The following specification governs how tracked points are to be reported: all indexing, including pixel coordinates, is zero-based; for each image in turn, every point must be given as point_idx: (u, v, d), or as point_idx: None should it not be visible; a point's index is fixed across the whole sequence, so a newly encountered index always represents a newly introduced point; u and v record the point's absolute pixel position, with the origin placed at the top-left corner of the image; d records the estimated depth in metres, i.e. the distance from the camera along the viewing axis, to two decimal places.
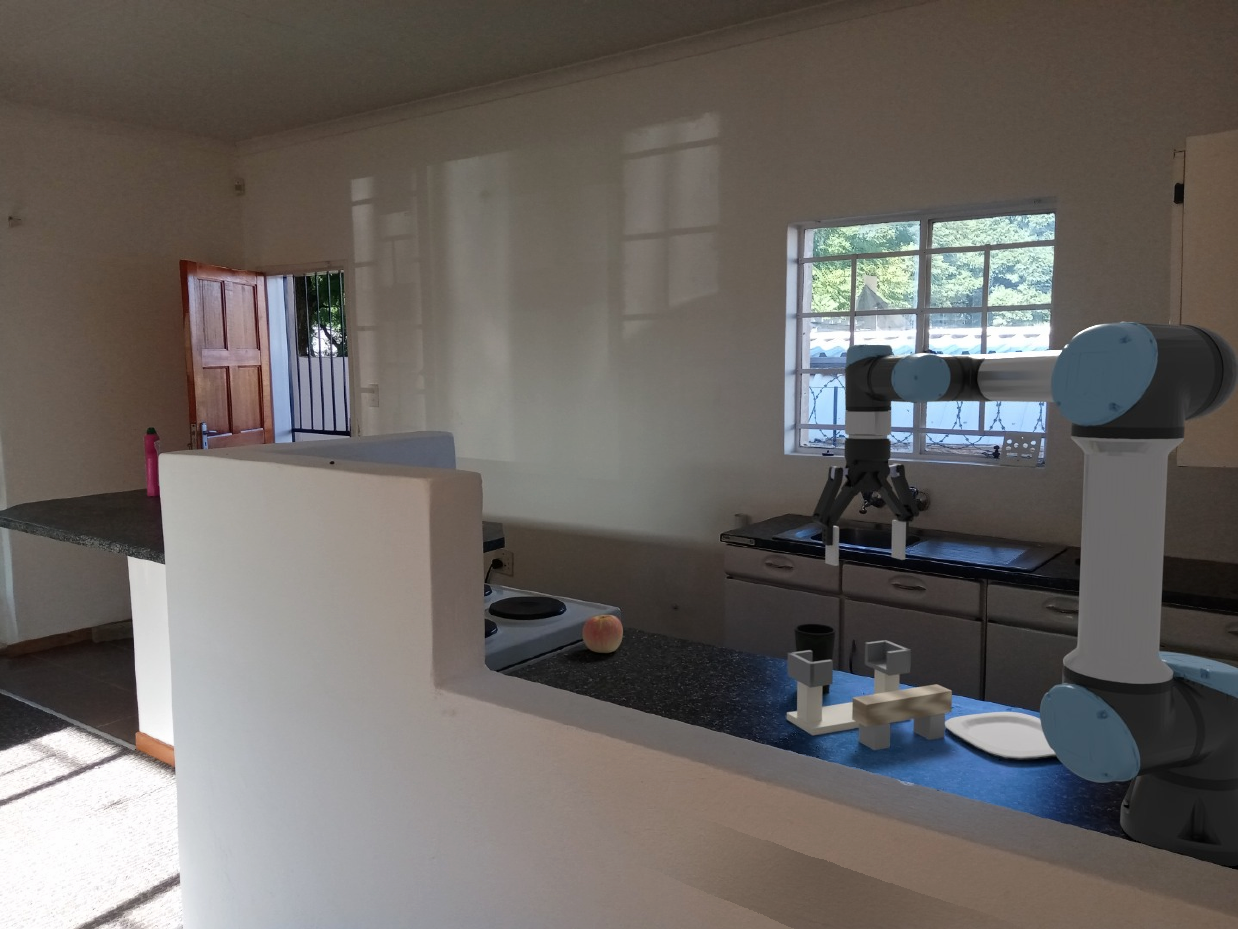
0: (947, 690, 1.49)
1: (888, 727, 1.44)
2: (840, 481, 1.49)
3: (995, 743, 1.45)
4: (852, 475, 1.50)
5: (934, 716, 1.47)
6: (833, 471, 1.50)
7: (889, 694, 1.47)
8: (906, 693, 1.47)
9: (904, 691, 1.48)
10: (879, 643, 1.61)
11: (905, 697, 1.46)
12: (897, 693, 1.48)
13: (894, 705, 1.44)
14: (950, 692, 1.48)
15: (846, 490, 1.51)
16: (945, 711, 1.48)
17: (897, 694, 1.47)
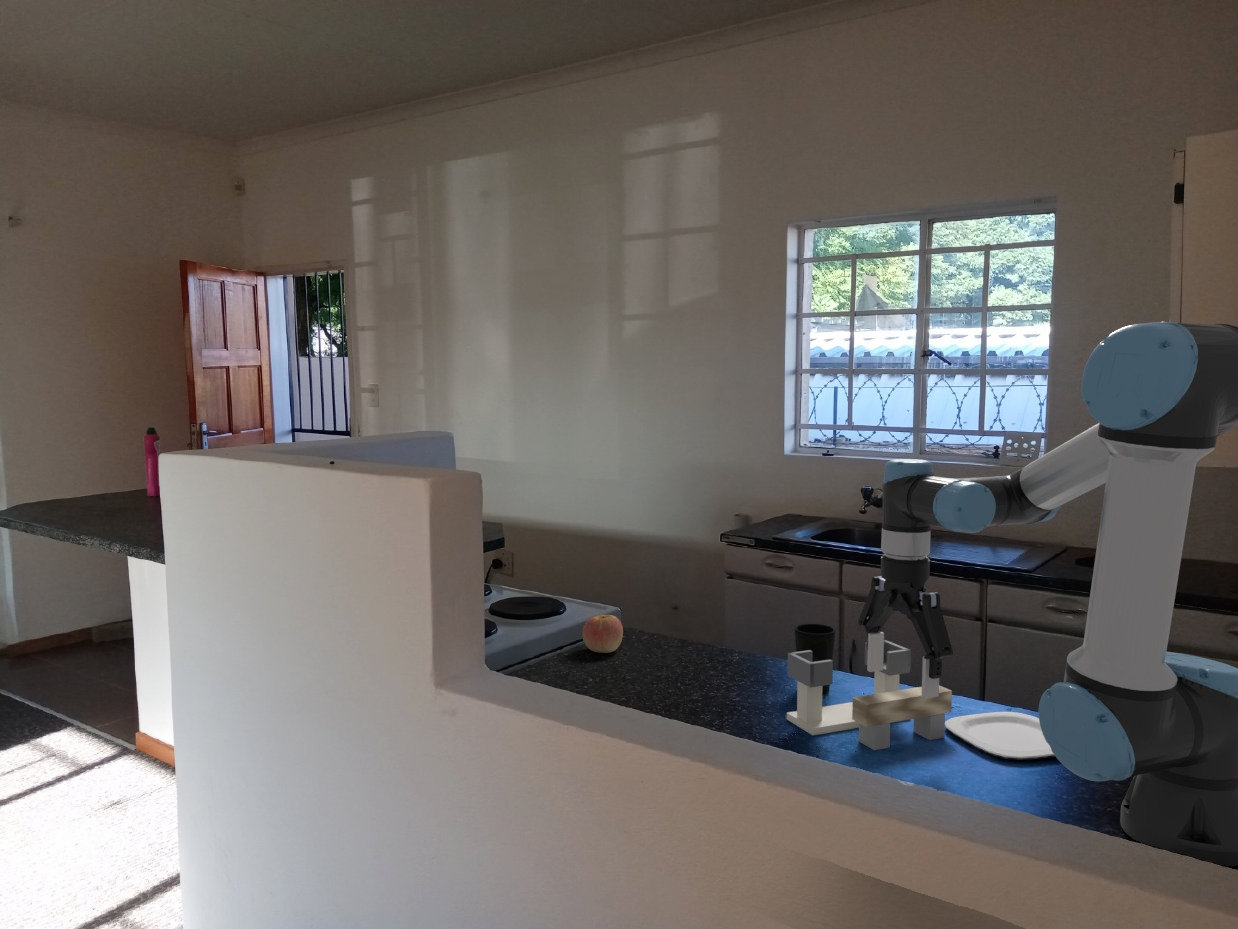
0: (947, 690, 1.49)
1: (888, 727, 1.44)
2: (873, 590, 1.51)
3: (995, 743, 1.45)
4: (884, 589, 1.49)
5: (934, 716, 1.47)
6: None
7: (889, 694, 1.47)
8: (906, 693, 1.47)
9: (904, 691, 1.48)
10: None
11: (905, 697, 1.46)
12: (897, 693, 1.48)
13: (894, 705, 1.44)
14: (950, 692, 1.48)
15: None
16: (945, 711, 1.48)
17: (897, 694, 1.47)
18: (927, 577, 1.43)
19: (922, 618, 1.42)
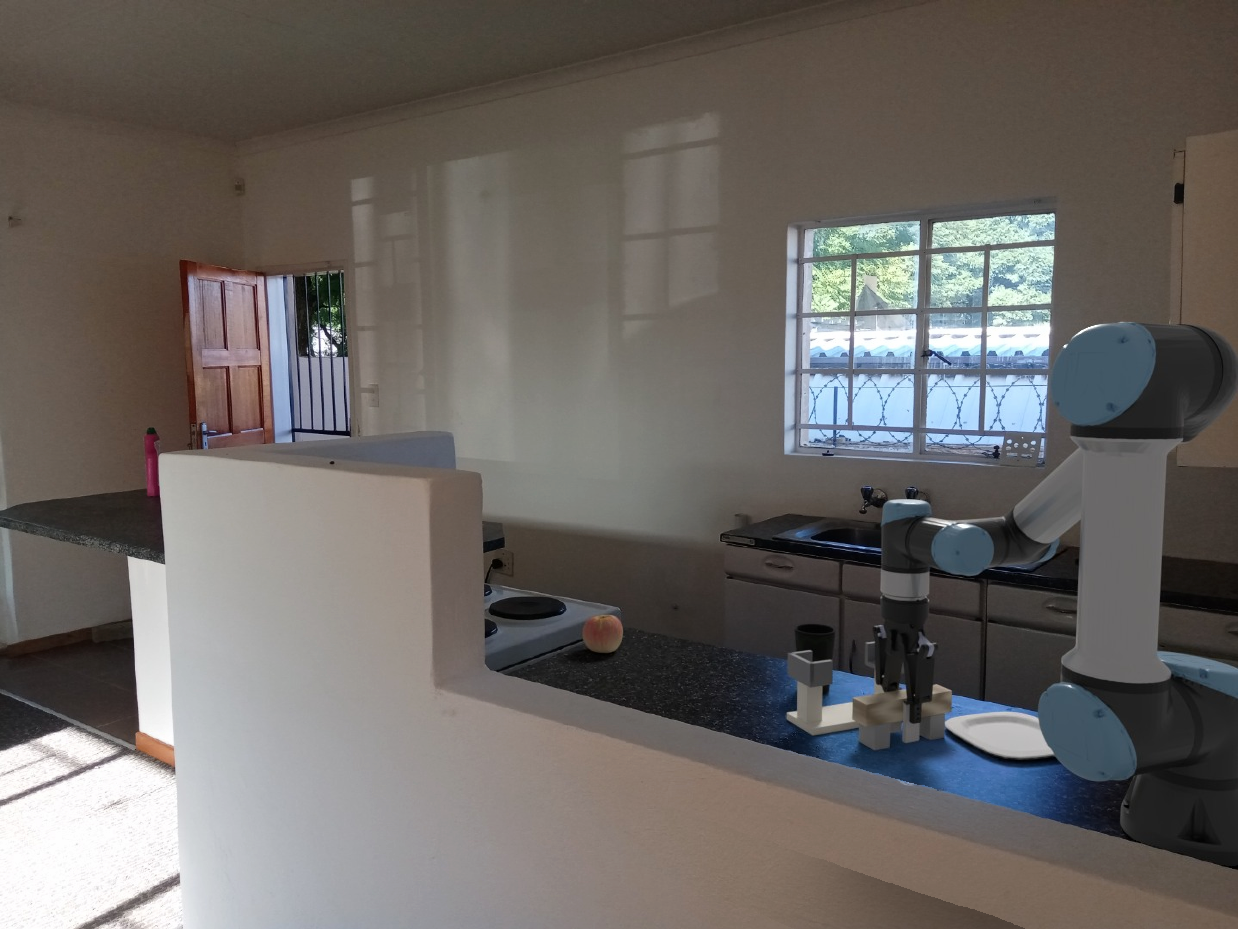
0: (947, 690, 1.49)
1: (888, 727, 1.44)
2: (877, 639, 1.51)
3: (995, 743, 1.45)
4: (885, 630, 1.49)
5: (934, 716, 1.47)
6: None
7: (889, 694, 1.47)
8: None
9: (904, 691, 1.48)
10: None
11: (905, 697, 1.46)
12: (897, 693, 1.48)
13: (895, 705, 1.44)
14: (950, 692, 1.48)
15: None
16: (945, 711, 1.48)
17: (897, 694, 1.47)
18: (926, 617, 1.44)
19: (914, 662, 1.44)
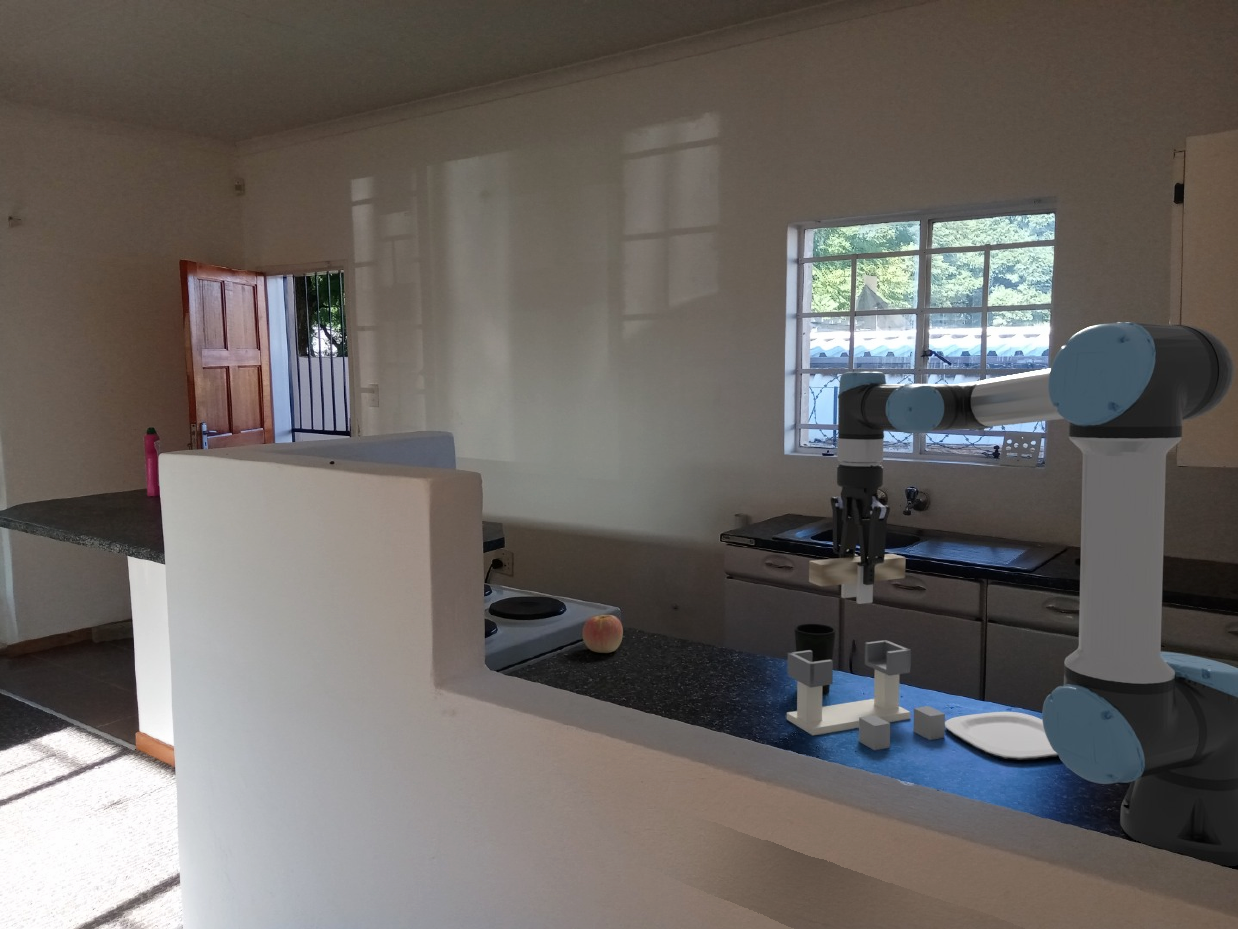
0: (901, 557, 1.55)
1: (888, 727, 1.44)
2: (835, 509, 1.57)
3: (995, 743, 1.45)
4: (842, 499, 1.55)
5: (934, 716, 1.47)
6: None
7: (845, 559, 1.53)
8: None
9: None
10: (879, 643, 1.61)
11: (860, 561, 1.52)
12: (853, 558, 1.54)
13: (849, 568, 1.51)
14: (904, 558, 1.55)
15: None
16: (899, 576, 1.55)
17: (853, 559, 1.54)
18: (880, 483, 1.50)
19: (868, 526, 1.51)
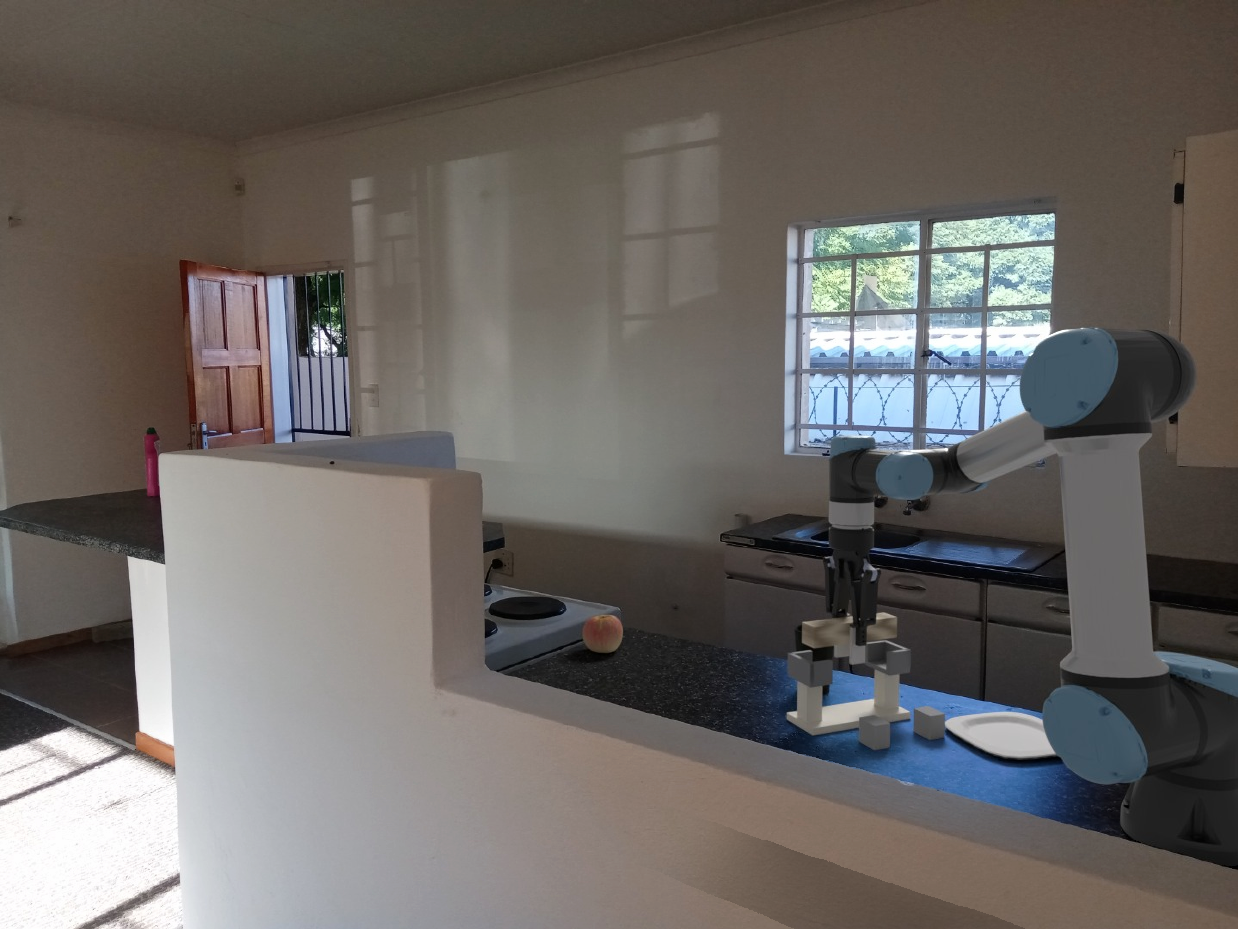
0: (893, 616, 1.57)
1: (888, 727, 1.44)
2: (827, 569, 1.59)
3: (995, 743, 1.45)
4: (834, 560, 1.57)
5: (934, 716, 1.47)
6: None
7: (837, 619, 1.55)
8: None
9: (852, 617, 1.57)
10: (879, 643, 1.61)
11: (852, 621, 1.54)
12: (845, 618, 1.56)
13: (841, 629, 1.53)
14: (895, 618, 1.57)
15: None
16: (890, 636, 1.57)
17: (845, 619, 1.55)
18: (871, 545, 1.52)
19: (860, 588, 1.53)
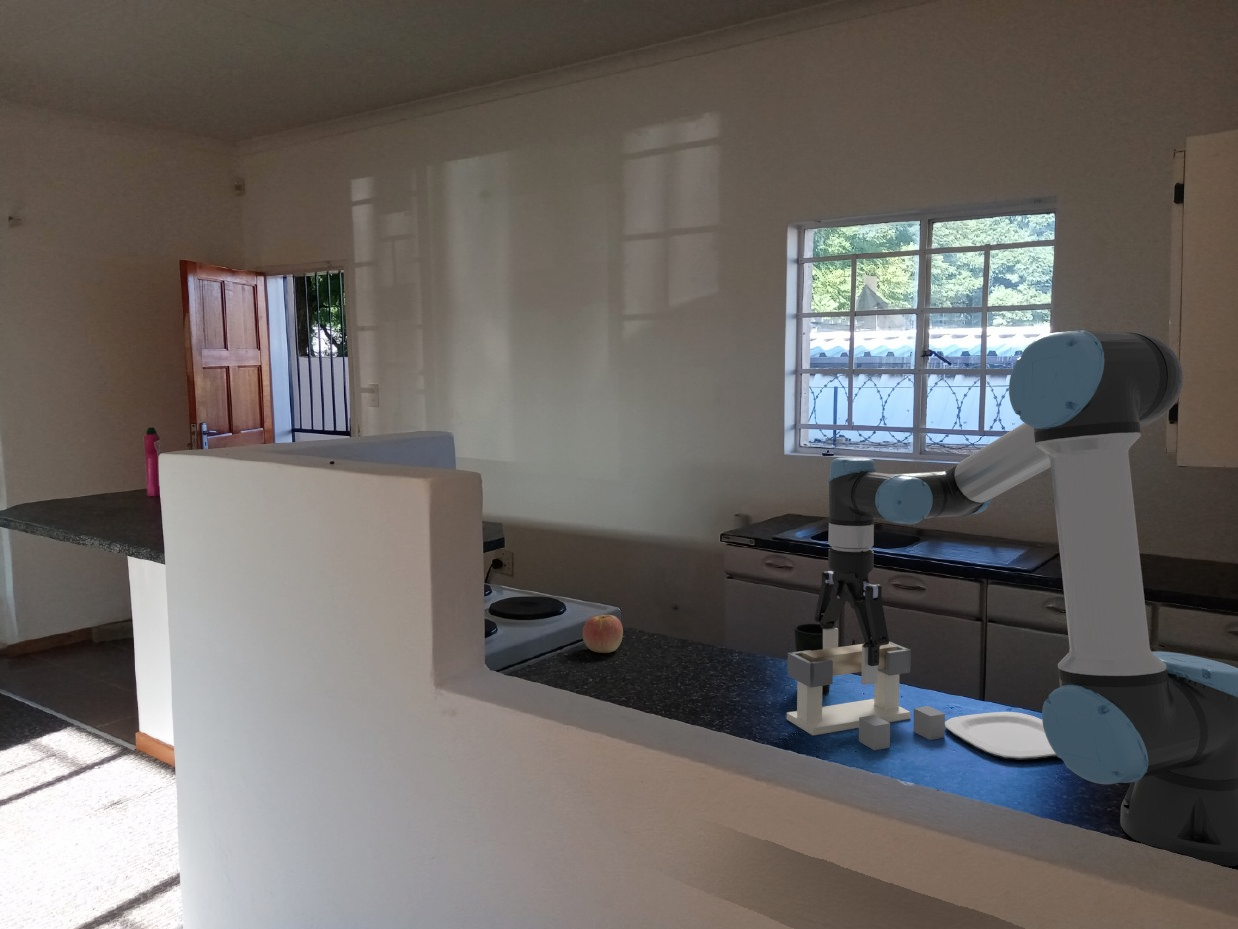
0: (892, 646, 1.58)
1: (888, 727, 1.44)
2: (824, 584, 1.60)
3: (995, 743, 1.45)
4: (833, 580, 1.58)
5: (934, 716, 1.47)
6: None
7: (837, 649, 1.56)
8: (852, 649, 1.56)
9: (852, 647, 1.57)
10: None
11: (851, 651, 1.54)
12: (845, 648, 1.57)
13: (841, 659, 1.53)
14: (895, 648, 1.57)
15: None
16: None
17: (845, 649, 1.56)
18: (871, 568, 1.52)
19: (864, 608, 1.52)
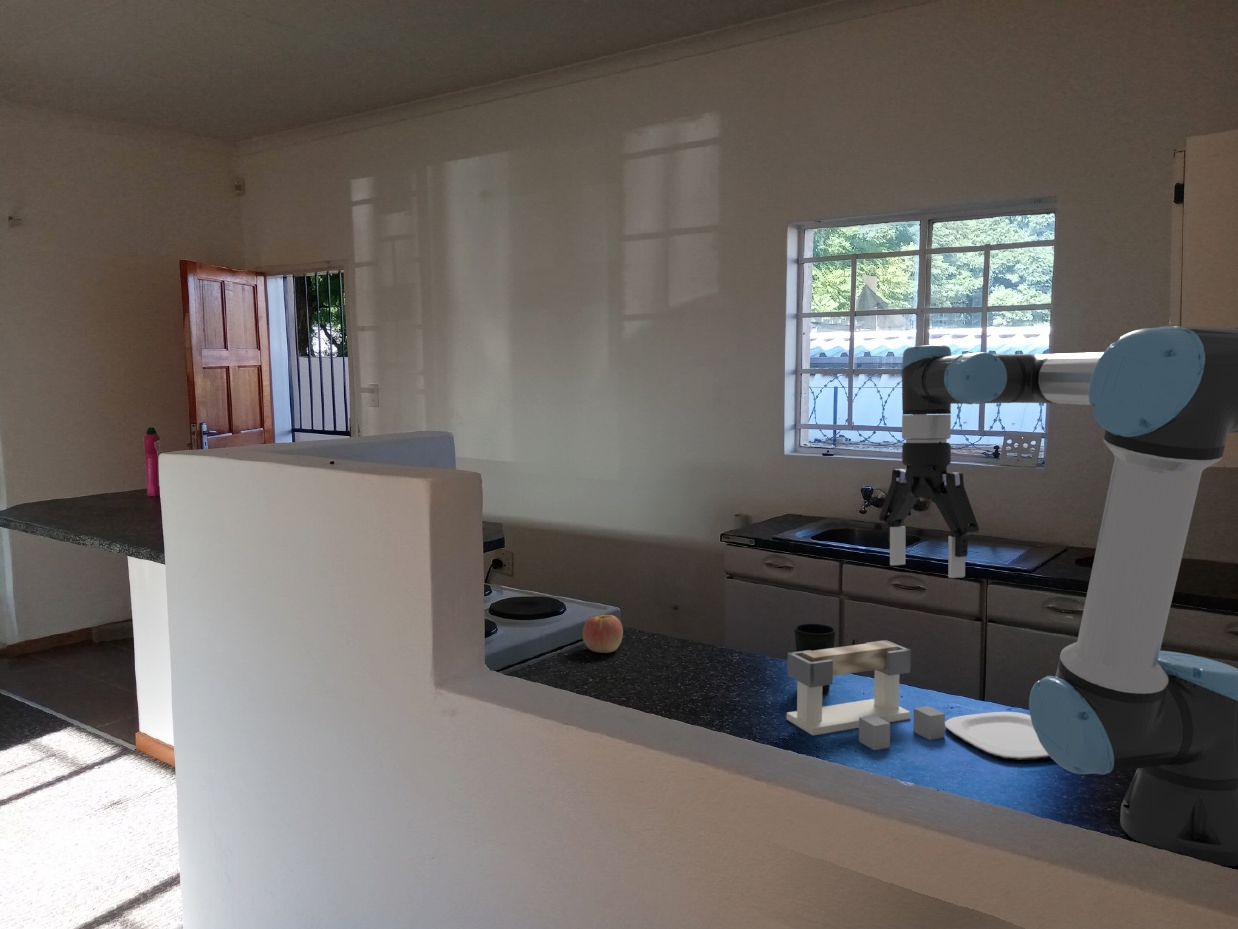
0: (892, 646, 1.58)
1: (888, 727, 1.44)
2: (894, 482, 1.52)
3: (995, 743, 1.45)
4: (905, 478, 1.50)
5: (934, 716, 1.47)
6: None
7: (837, 649, 1.56)
8: (852, 649, 1.56)
9: (852, 647, 1.57)
10: None
11: (851, 651, 1.54)
12: (845, 648, 1.57)
13: (841, 659, 1.53)
14: (895, 648, 1.57)
15: None
16: None
17: (845, 649, 1.56)
18: (949, 460, 1.45)
19: (946, 499, 1.43)
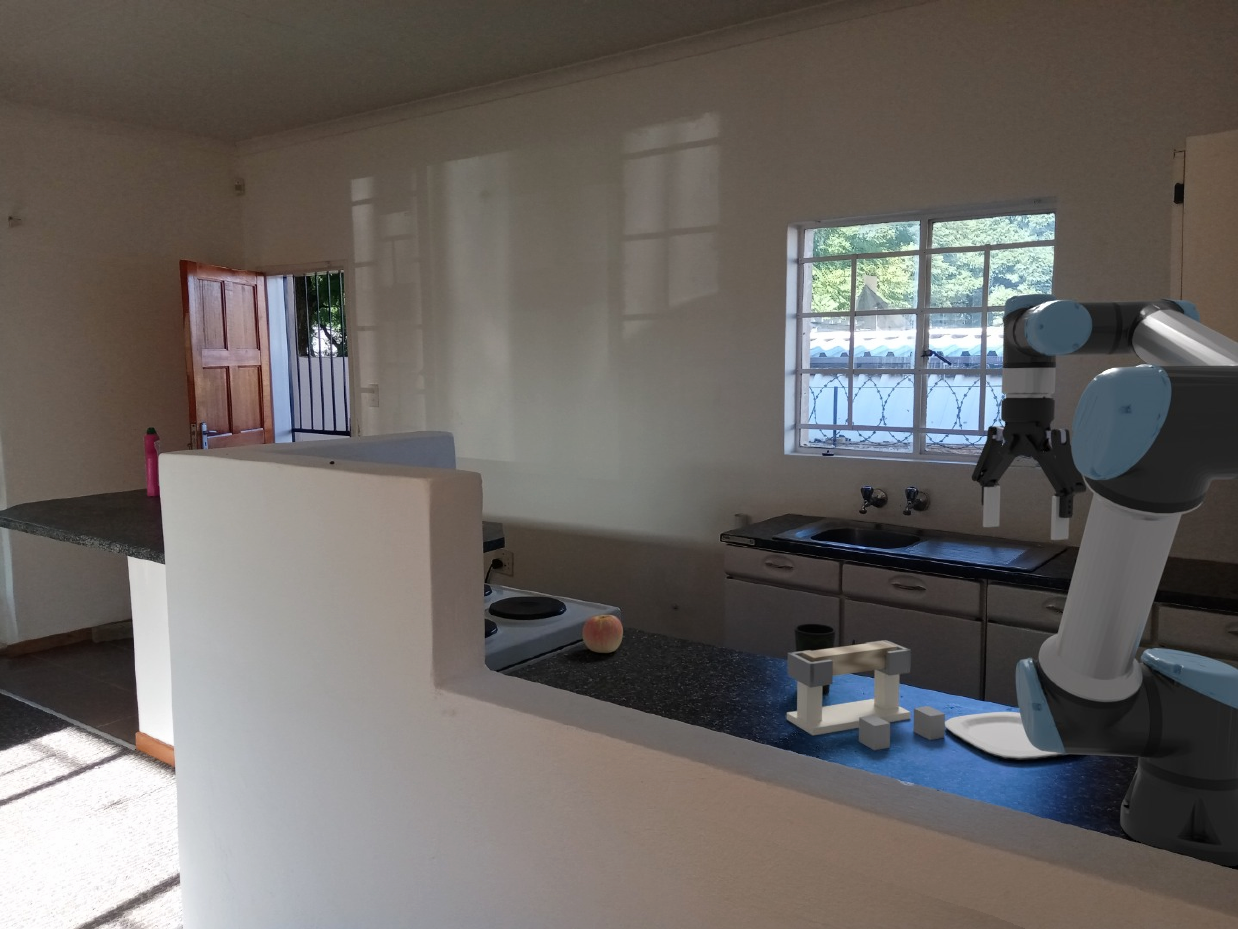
0: (892, 646, 1.58)
1: (888, 727, 1.44)
2: (990, 440, 1.45)
3: (995, 743, 1.45)
4: (1003, 436, 1.43)
5: (934, 716, 1.47)
6: None
7: (837, 649, 1.56)
8: (852, 649, 1.56)
9: (852, 647, 1.57)
10: None
11: (851, 651, 1.54)
12: (845, 648, 1.57)
13: (841, 659, 1.53)
14: (895, 648, 1.57)
15: None
16: None
17: (845, 649, 1.56)
18: (1053, 416, 1.37)
19: (1049, 457, 1.36)
